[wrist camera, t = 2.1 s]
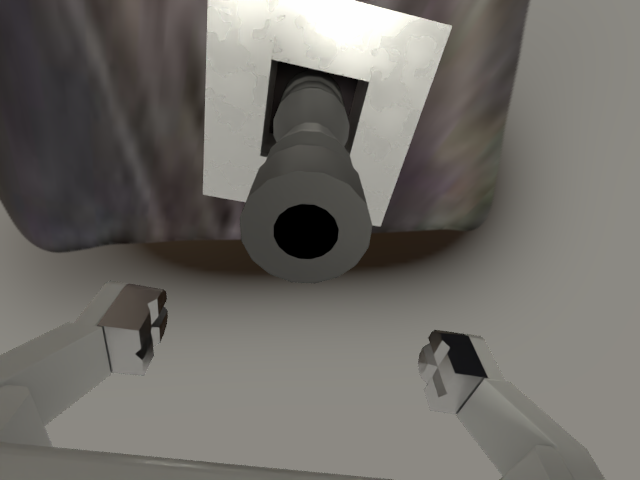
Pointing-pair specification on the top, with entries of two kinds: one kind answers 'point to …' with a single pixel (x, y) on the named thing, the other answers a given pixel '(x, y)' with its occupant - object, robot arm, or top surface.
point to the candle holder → (307, 189)
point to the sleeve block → (325, 55)
